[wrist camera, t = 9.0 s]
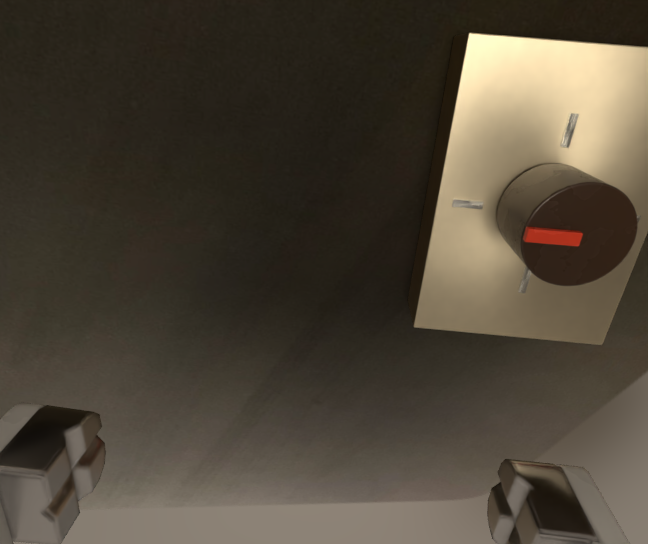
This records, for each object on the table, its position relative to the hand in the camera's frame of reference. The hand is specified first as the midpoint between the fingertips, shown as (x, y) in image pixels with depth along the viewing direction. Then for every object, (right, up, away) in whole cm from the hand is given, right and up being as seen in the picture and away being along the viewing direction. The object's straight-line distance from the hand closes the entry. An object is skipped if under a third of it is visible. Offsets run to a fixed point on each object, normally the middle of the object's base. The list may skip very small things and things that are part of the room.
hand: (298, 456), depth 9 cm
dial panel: (+11, +8, +15) cm, 20 cm away
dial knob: (+11, +7, +12) cm, 17 cm away
